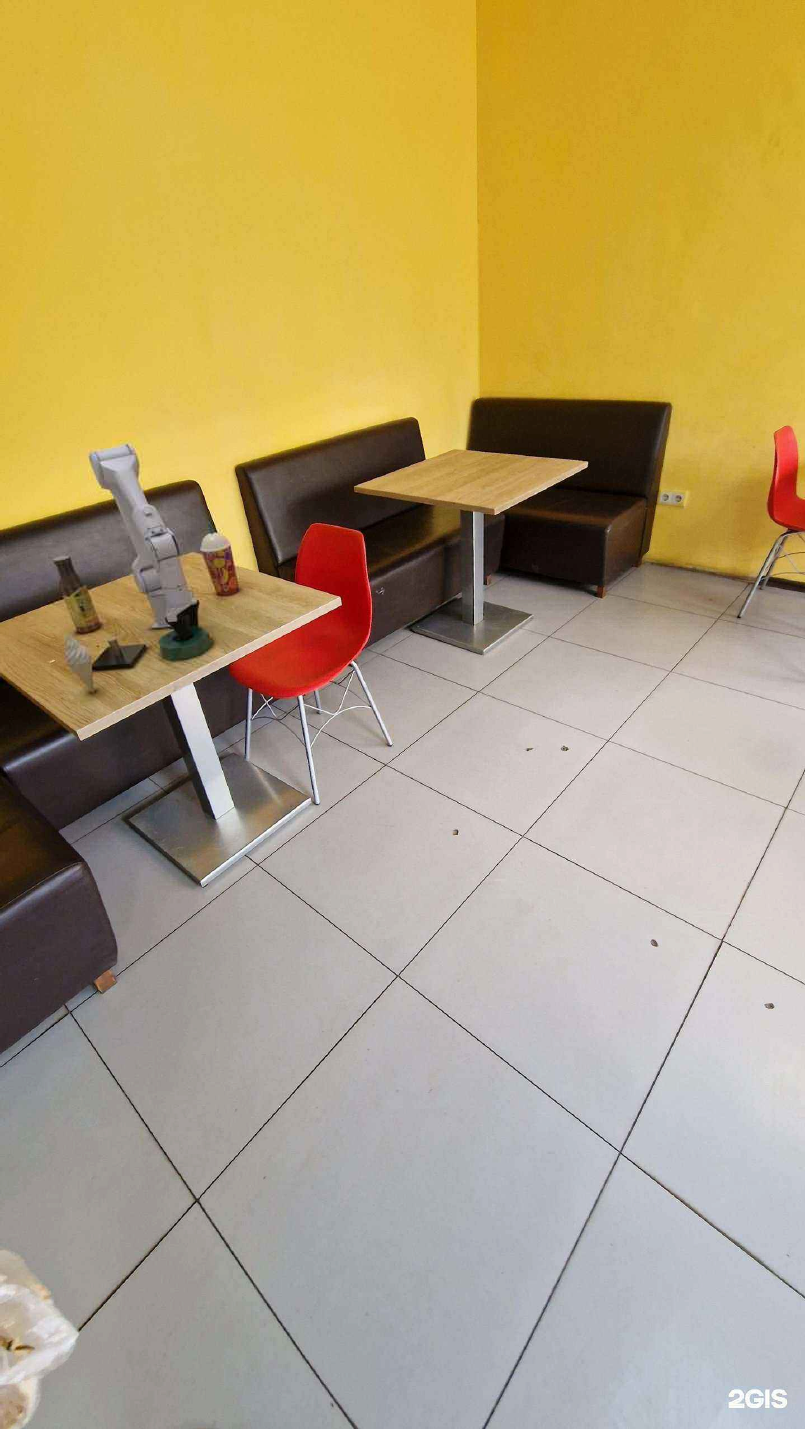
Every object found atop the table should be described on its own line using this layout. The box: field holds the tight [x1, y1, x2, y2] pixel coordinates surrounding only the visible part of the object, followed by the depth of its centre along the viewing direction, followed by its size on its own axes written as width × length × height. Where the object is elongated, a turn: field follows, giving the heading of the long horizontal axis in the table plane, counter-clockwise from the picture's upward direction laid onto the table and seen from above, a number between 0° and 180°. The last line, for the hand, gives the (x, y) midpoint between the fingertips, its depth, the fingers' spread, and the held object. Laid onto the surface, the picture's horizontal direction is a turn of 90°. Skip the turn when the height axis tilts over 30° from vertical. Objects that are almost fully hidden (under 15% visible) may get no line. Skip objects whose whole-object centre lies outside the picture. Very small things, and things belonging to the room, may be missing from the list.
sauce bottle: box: [52, 554, 101, 633], centre depth 166 cm, size 6×6×20 cm
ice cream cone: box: [63, 631, 95, 693], centre depth 137 cm, size 5×5×15 cm
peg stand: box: [91, 636, 148, 672], centre depth 152 cm, size 10×10×6 cm
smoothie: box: [200, 522, 239, 596], centre depth 178 cm, size 8×8×20 cm
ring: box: [157, 626, 212, 661], centre depth 154 cm, size 12×12×3 cm
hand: (190, 635), depth 158 cm, fingers open, 5 cm apart
